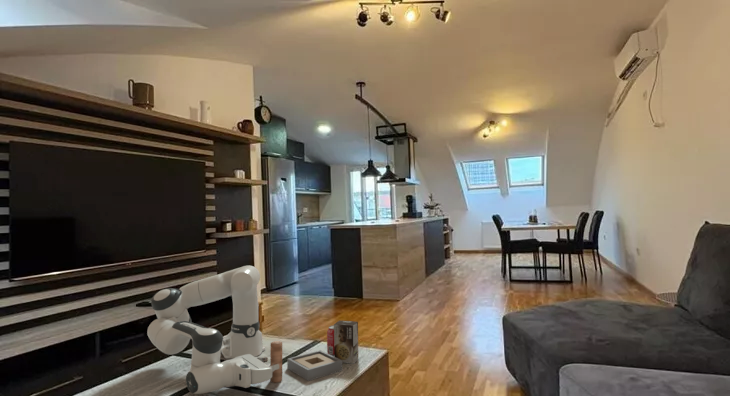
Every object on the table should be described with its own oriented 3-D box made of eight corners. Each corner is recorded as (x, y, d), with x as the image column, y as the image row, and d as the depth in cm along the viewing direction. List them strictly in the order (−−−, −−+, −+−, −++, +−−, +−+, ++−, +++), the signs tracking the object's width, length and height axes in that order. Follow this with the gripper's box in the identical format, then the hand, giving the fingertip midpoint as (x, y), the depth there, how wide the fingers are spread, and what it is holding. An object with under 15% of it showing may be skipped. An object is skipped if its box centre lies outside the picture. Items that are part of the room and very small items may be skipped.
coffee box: (358, 359, 176) (358, 321, 177) (353, 364, 170) (353, 325, 171) (339, 356, 179) (339, 319, 180) (333, 361, 173) (333, 323, 173)
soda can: (343, 351, 186) (343, 325, 186) (341, 356, 179) (341, 329, 179) (328, 351, 187) (328, 324, 187) (325, 356, 180) (325, 328, 180)
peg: (268, 380, 154) (268, 342, 154) (278, 377, 157) (279, 340, 157) (273, 383, 150) (273, 345, 151) (284, 380, 153) (284, 343, 154)
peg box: (287, 368, 165) (287, 358, 166) (320, 359, 175) (320, 350, 176) (307, 380, 153) (307, 370, 153) (342, 370, 163) (342, 360, 163)
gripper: (225, 371, 152) (260, 363, 160) (248, 389, 136) (285, 379, 145) (225, 354, 152) (260, 346, 161) (248, 370, 136) (285, 361, 145)
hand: (272, 362), depth 153 cm, fingers open, 8 cm apart
